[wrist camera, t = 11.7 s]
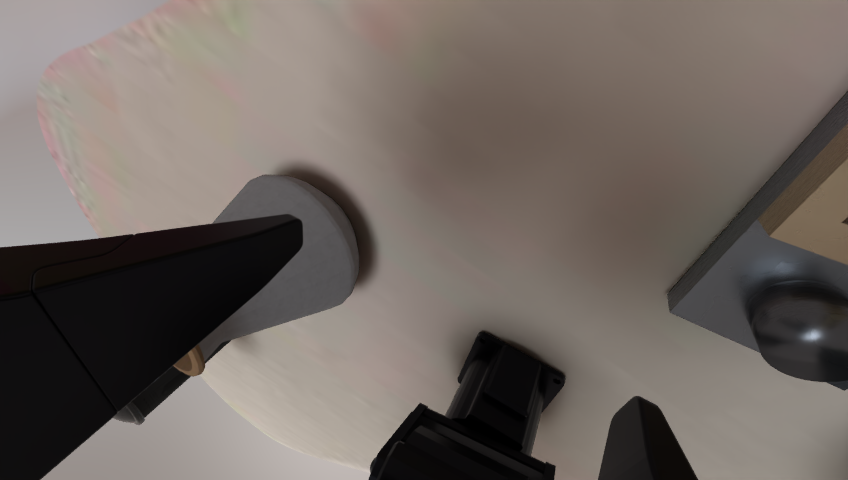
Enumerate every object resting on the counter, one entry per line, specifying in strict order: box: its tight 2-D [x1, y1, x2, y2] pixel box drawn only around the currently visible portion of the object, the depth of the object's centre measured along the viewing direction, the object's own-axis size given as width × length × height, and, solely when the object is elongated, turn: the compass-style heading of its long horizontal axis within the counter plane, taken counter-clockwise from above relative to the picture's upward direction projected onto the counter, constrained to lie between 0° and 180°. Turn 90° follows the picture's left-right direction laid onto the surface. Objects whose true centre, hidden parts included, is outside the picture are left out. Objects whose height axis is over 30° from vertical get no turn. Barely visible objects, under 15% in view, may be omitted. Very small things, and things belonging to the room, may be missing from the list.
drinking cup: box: [113, 340, 231, 425], centre depth 37 cm, size 8×8×20 cm
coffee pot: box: [173, 175, 359, 376], centre depth 26 cm, size 21×12×15 cm, turn 120°
